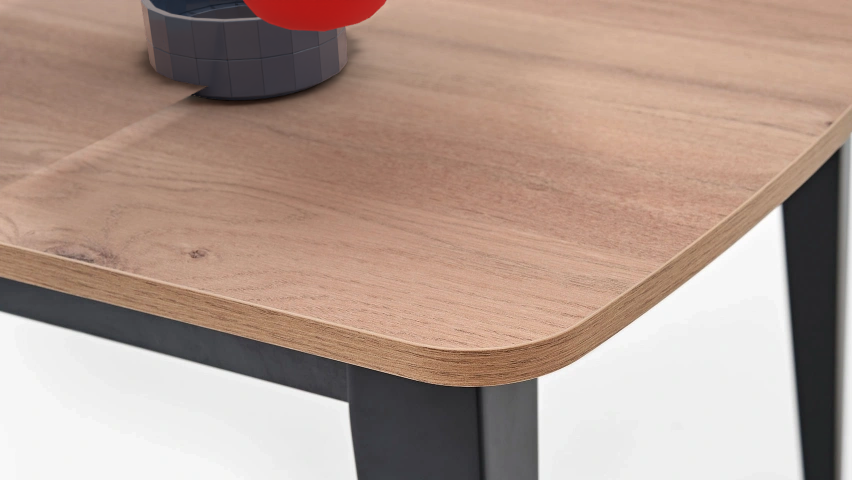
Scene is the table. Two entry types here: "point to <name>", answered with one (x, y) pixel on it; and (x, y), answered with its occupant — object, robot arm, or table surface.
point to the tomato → (314, 12)
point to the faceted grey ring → (237, 50)
